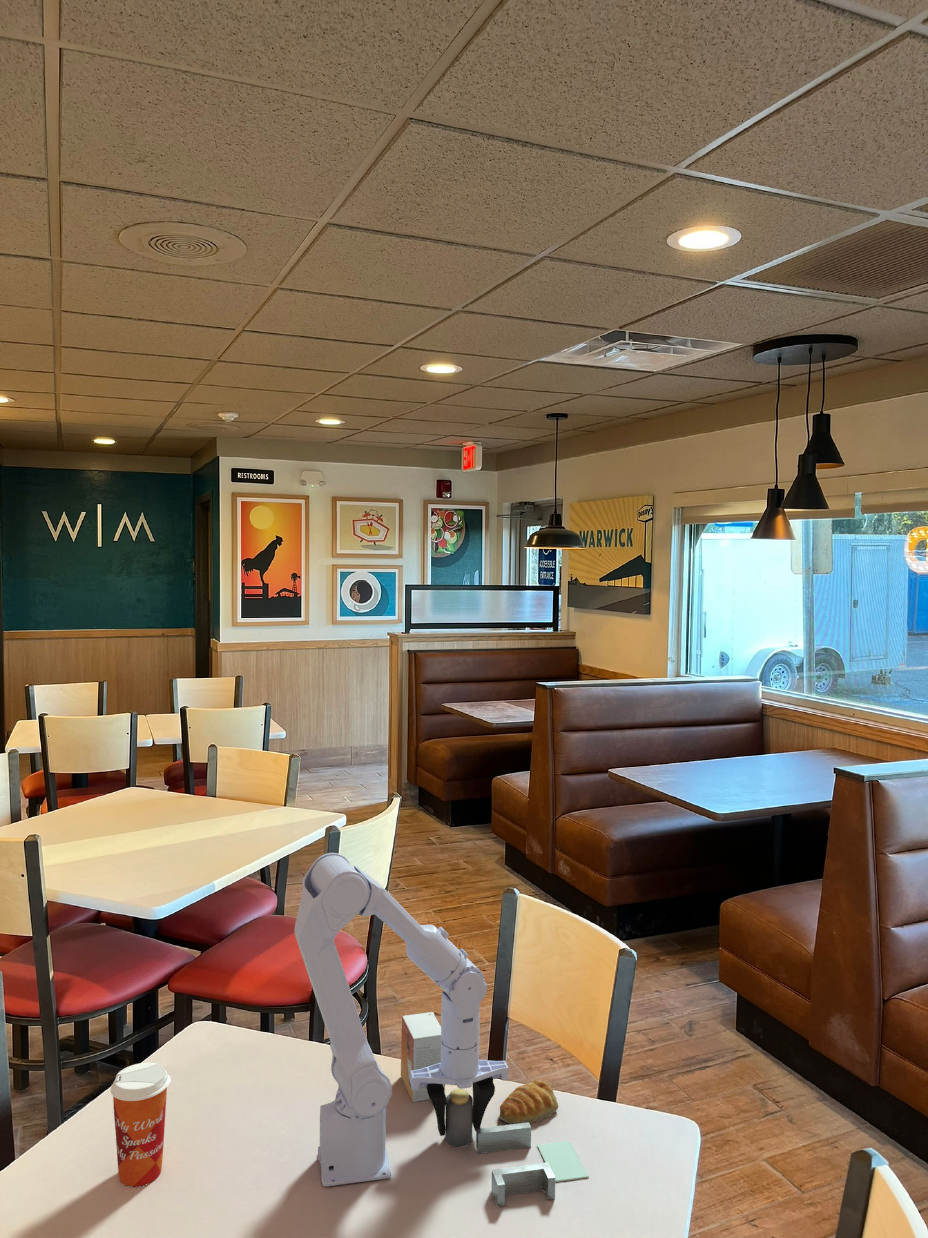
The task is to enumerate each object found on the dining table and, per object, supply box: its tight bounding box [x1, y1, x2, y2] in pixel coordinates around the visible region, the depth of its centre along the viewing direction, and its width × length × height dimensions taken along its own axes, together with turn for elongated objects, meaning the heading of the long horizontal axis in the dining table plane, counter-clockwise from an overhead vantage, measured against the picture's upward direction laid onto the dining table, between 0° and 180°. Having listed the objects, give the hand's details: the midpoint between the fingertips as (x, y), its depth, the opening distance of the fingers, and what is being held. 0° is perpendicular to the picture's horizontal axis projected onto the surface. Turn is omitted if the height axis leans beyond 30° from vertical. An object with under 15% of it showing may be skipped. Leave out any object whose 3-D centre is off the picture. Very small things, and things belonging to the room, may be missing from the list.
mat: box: [537, 1140, 589, 1183], centre depth 127 cm, size 5×8×1 cm, turn 12°
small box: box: [400, 1011, 446, 1103], centre depth 145 cm, size 8×6×10 cm
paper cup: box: [110, 1062, 172, 1188], centre depth 123 cm, size 8×8×14 cm
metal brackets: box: [475, 1122, 556, 1208], centre depth 124 cm, size 8×12×3 cm, turn 12°
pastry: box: [499, 1079, 559, 1125], centre depth 138 cm, size 9×7×4 cm
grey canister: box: [444, 1088, 473, 1148], centre depth 132 cm, size 4×4×7 cm
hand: (458, 1129), depth 132 cm, fingers open, 5 cm apart
